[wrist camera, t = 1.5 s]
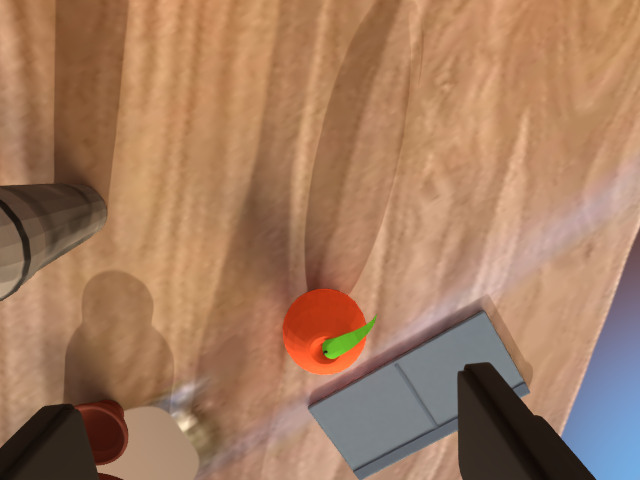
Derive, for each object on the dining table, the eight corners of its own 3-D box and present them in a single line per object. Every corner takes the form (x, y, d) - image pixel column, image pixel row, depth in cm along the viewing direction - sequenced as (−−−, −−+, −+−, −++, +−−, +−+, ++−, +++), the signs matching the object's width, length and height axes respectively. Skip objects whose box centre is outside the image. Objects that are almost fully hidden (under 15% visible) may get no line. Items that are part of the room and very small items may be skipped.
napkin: (483, 309, 36) (485, 312, 36) (528, 390, 39) (531, 393, 38) (307, 406, 39) (307, 409, 38) (359, 477, 41) (360, 481, 40)
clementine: (353, 259, 35) (363, 288, 28) (383, 324, 37) (400, 367, 30) (272, 295, 36) (262, 332, 29) (305, 358, 37) (303, 407, 30)
